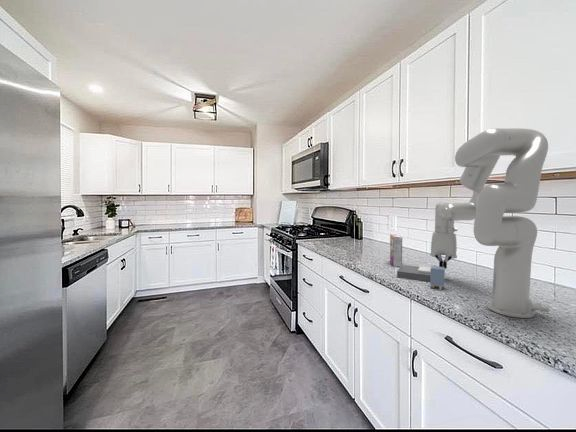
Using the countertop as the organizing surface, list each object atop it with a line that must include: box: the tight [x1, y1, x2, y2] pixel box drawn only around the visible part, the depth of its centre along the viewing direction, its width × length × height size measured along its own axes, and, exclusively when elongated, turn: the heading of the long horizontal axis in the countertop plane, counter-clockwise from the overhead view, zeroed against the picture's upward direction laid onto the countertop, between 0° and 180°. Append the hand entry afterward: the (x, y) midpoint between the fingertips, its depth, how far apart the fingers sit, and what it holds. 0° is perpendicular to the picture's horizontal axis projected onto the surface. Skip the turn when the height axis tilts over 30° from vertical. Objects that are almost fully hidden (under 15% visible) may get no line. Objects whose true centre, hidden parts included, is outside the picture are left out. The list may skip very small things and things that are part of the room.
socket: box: [396, 264, 430, 283], centre depth 132 cm, size 16×14×3 cm
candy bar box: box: [389, 233, 403, 268], centre depth 153 cm, size 11×5×16 cm, turn 168°
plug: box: [429, 265, 446, 291], centre depth 115 cm, size 5×4×8 cm
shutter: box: [418, 264, 437, 273], centre depth 129 cm, size 7×8×2 cm
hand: (442, 269), depth 126 cm, fingers closed
